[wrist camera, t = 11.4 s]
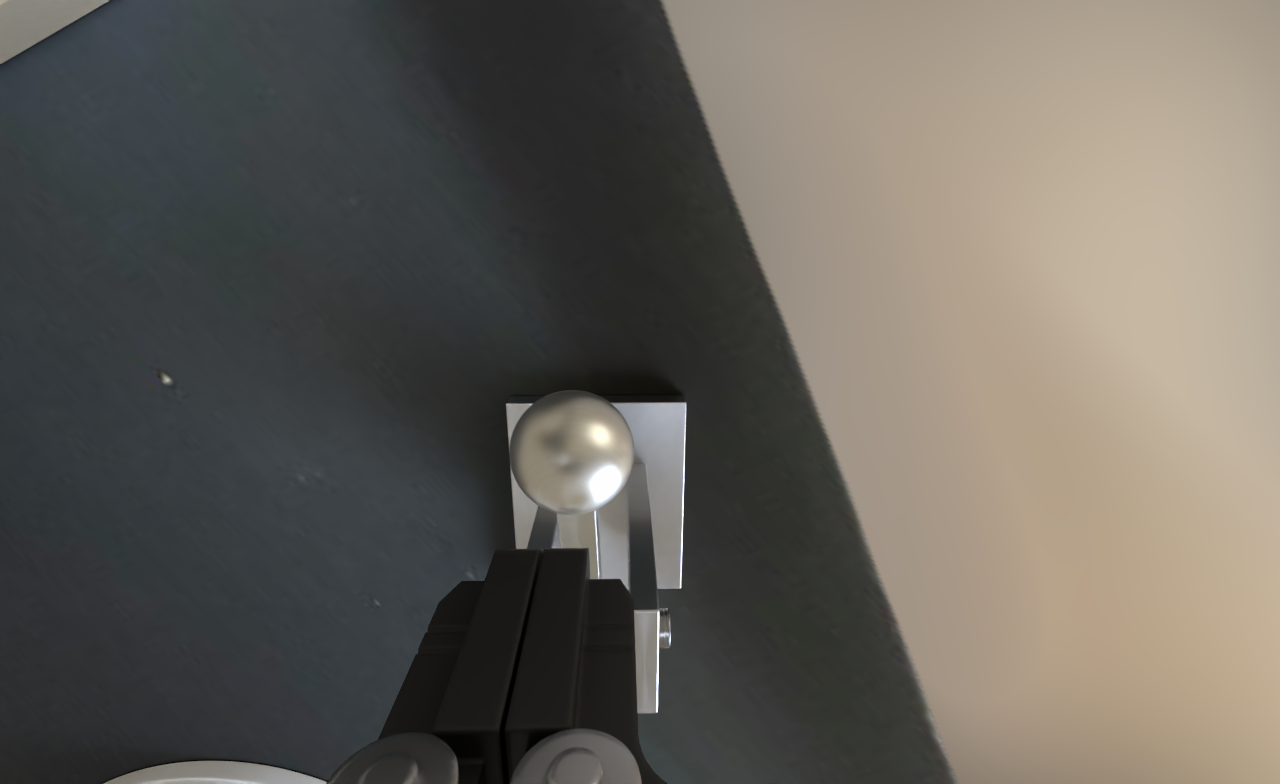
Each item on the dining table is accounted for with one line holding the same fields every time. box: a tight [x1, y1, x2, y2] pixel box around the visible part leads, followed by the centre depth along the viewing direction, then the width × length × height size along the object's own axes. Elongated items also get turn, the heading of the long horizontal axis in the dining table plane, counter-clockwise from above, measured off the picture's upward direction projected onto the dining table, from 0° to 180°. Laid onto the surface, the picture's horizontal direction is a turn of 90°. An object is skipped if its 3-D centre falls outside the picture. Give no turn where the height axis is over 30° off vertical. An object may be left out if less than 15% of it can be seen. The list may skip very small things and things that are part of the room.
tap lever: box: [509, 390, 634, 579], centre depth 19 cm, size 13×3×3 cm, turn 0°
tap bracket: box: [506, 395, 687, 714], centre depth 27 cm, size 11×9×13 cm
